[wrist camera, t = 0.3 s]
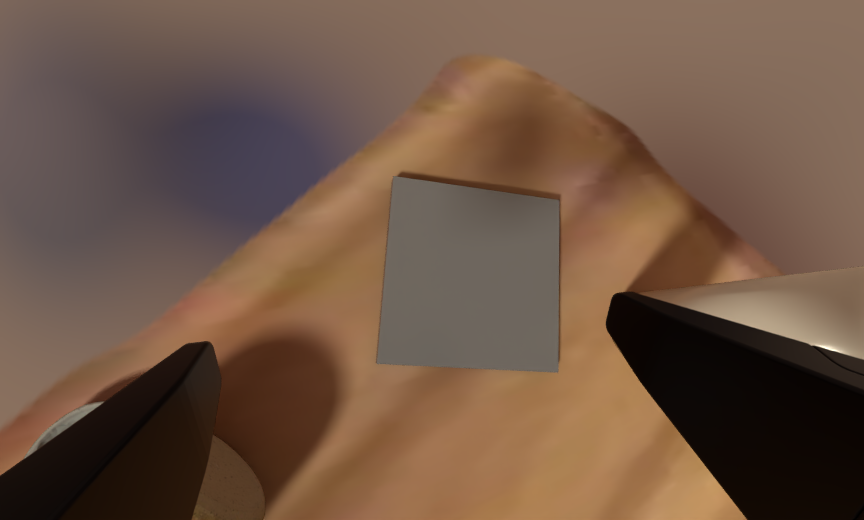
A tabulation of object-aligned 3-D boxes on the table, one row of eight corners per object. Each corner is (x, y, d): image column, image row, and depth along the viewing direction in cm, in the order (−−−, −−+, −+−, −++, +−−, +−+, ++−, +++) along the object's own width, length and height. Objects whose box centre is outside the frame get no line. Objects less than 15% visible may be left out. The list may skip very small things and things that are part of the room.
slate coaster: (551, 371, 25) (558, 372, 24) (375, 362, 22) (376, 363, 22) (553, 203, 27) (559, 200, 26) (391, 180, 24) (393, 176, 24)
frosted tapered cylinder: (680, 330, 27) (968, 334, 15) (640, 376, 26) (917, 423, 13) (638, 279, 27) (891, 238, 15) (596, 322, 26) (833, 318, 13)
